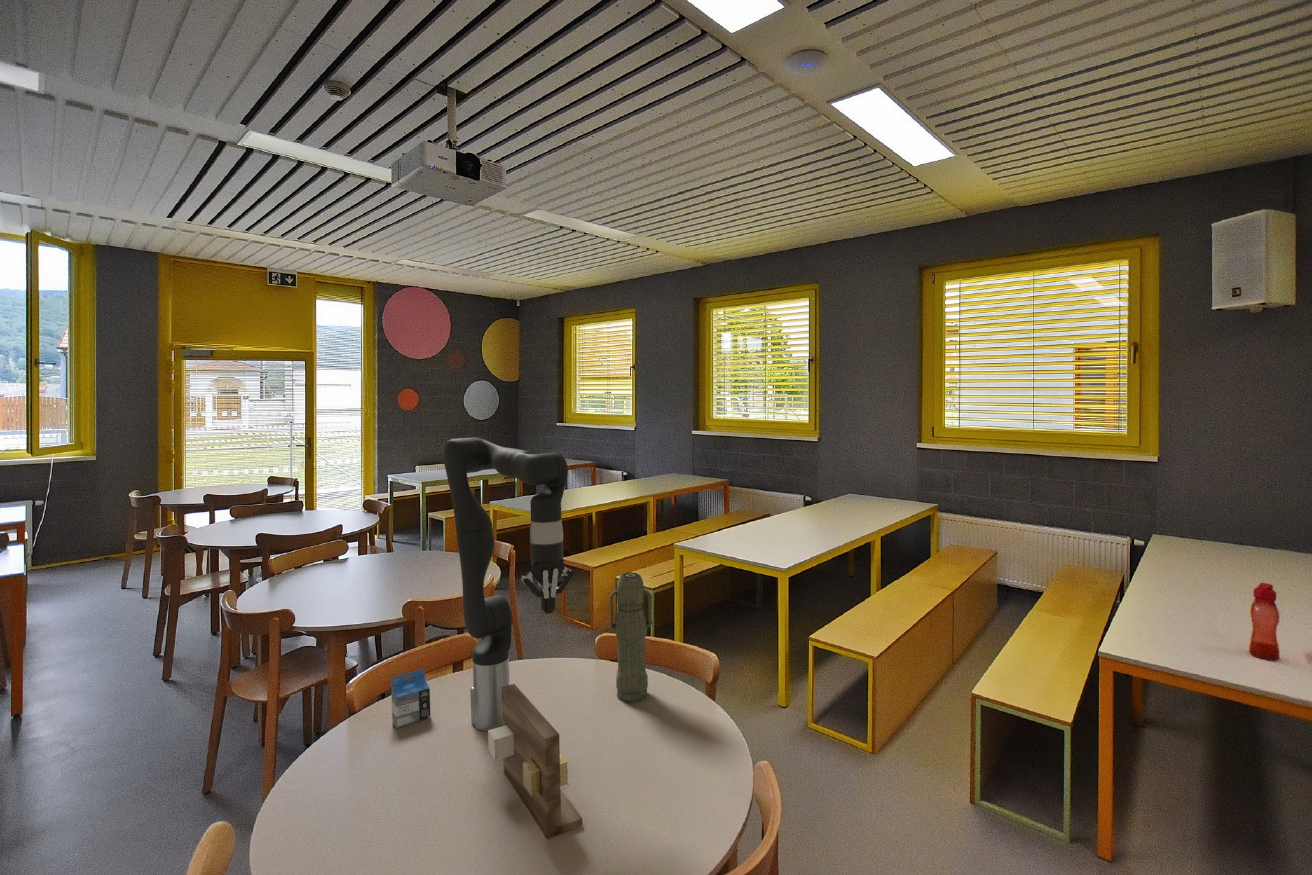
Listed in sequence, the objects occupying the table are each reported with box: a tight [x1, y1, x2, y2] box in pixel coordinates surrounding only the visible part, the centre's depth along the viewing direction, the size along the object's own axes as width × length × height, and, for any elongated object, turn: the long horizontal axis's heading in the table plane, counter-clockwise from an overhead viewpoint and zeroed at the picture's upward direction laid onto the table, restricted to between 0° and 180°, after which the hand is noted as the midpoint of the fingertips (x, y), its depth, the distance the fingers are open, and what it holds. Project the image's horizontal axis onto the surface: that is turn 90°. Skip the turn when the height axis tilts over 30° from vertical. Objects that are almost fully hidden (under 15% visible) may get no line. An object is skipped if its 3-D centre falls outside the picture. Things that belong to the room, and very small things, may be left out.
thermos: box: [609, 571, 653, 704], centre depth 180 cm, size 9×12×35 cm
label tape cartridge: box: [390, 668, 432, 729], centre depth 168 cm, size 9×4×12 cm, turn 129°
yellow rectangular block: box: [523, 753, 569, 797], centre depth 127 cm, size 8×5×5 cm, turn 122°
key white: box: [487, 725, 514, 762], centre depth 139 cm, size 8×5×5 cm, turn 122°
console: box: [501, 683, 583, 840], centre depth 135 cm, size 8×26×20 cm, turn 32°
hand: (548, 612), depth 148 cm, fingers closed
